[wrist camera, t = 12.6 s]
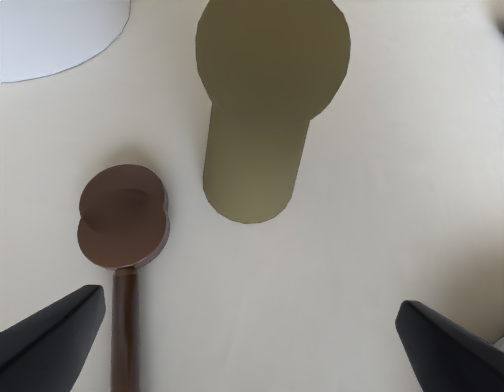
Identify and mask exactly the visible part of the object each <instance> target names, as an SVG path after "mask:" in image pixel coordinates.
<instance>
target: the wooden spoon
mask: <svg viewBox="0 0 504 392" xmlns="http://www.w3.org/2000/svg"><path fill="white" fill-rule="evenodd" d="M167 208H168V197H167V193H166V191H165V189H164V186H163V184H162V182H161V180H160V179H159V177H158V176H157V175H156V174H155V173H153V172H152V171H151V170H149V169H147V168H145V167H142V166H139V165H132V164H124V165H117V166H114V167H111V168H108V169H106V170H104V171H102V172H100V173H99V174H97V175H96V176H95V177H94V178H93V179H92V180H91V181H90V182H89V183H88V184H87V185H86V187H85V189H84V190H83V193H82V195H81V198H80V204H79V210H80V215H81V220H80V222H79V226H78V231H77V237H78V243H79V246H80V249H81V251H82V253H83V254H84V255H85V257H87V258H88V259H89V260H90V261H91V262H93V263H94V264H96V265H98V266H101V267H103V268H106V269H109V270H112V271H115V272H114V275H113V287H112V337H111V386H110V392H140V353H139V294H138V272H137V270H136V269H137V268H140V267H142V266H144V265H146V264H148V263H149V262H151V261H152V260H153V259H154V258H155V257H156V256H157V255H158V254H159V253H160V252H161V251H162V249H163V248H164V246H165V244H166V242H167V239H168V236H169V230H170V224H169V219H168V216H167V213H166V212H167Z"/></svg>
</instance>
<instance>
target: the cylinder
mask: <svg viewBox="0 0 504 392" xmlns="http://www.w3.org/2000/svg"><path fill="white" fill-rule="evenodd" d="M129 10H130V0H0V82H17V81H23V80H28V79H33V78H38V77H44V76H49V75H52V74H55V73H58V72H60V71H63V70H66V69H68V68H71V67H74V66H77V65H79V64H81V63H83V62H85V61H86V60H88V59H90V58H91V57H93V56H95V55H96V54H98V53H100V52H101V51H103V50H105V49H106V48H107V47H108V46H109V45H110V44H111V43H112V42H113V41H114V40H115V39H116V38H117V37H118V36H119V35H120V34H121V32H122V30H123V28H124V26H125V24H126V22H127V20H128V18H129Z"/></svg>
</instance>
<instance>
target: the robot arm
mask: <svg viewBox="0 0 504 392" xmlns="http://www.w3.org/2000/svg"><path fill="white" fill-rule="evenodd" d="M105 311H106V306H105V297H104V289H103V287H102V286H101V285H85V286H83V287H81V288H79V289H78V290H76V291H74V292H72V293H71V294H69V295H67V296H65V297H63V298H62V299H60V300H58V301H56V302H54V303H53V304H51V305H49V306H47V307H45V308H44V309H42V310H40V311H38V312H37V313H35V314H33V315H31V316H29V317H28V318H26V319H24V320H22V321H20V322H19V323H17V324H15V325H13V326H11V327H10V328H8V329H6V330H4V331H3V332H1V333H0V392H70V391H71V389H72V387H73V385H74V383H75V381H76V379H77V378H78V376H79V374H80V372H81V369H82V367H83V365H84V363H85V360H86V358H87V356H88V353H89V351H90V349H91V346H92V344H93V342H94V339H95V337H96V335H97V332H98V330H99V328H100V325H101V323H102V321H103V318H104V315H105ZM395 325H396V329H397V332H398V334H399V337H400V339H401V342H402V344H403V346H404V349H405V351H406V354H407V356H408V358H409V361H410V363H411V366H412V368H413V370H414V373H415V375H416V377H417V379H418V382H419V384H420V386H421V388H422V390H423V392H504V352H503V351H501V350H499V349H498V348H496V347H494V346H493V345H491V344H489V343H488V342H486V341H484V340H483V339H481V338H479V337H478V336H476V335H474V334H473V333H471V332H469V331H468V330H466V329H464V328H463V327H461V326H459V325H458V324H456V323H454V322H452V321H451V320H449V319H447V318H446V317H444V316H442V315H441V314H439V313H437V312H436V311H434V310H432V309H431V308H429V307H427V306H426V305H424V304H422V303H421V302H419V301H412V300H405V301H403V302H402V304H401V306H400V309H399V312H398V315H397V318H396V321H395Z"/></svg>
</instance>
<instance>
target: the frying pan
mask: <svg viewBox="0 0 504 392" xmlns="http://www.w3.org/2000/svg"><path fill="white" fill-rule="evenodd" d="M493 346H494V347H496V348H498V349H499V350H501V351H503V352H504V336H503V337H502V338H501V339H500V340H498V341H497V342H496V343H495V344H494V345H493Z"/></svg>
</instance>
